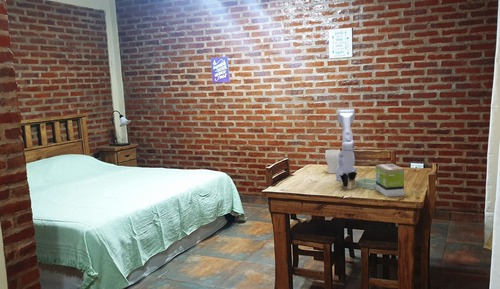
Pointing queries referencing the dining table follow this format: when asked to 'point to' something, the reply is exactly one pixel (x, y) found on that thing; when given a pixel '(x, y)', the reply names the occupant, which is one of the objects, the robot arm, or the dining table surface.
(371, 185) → the tray
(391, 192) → the tea box
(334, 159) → the beige flared cylinder
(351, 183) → the pine crate
